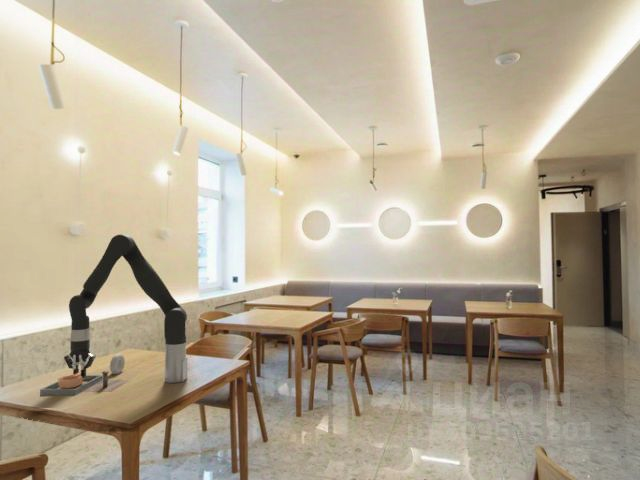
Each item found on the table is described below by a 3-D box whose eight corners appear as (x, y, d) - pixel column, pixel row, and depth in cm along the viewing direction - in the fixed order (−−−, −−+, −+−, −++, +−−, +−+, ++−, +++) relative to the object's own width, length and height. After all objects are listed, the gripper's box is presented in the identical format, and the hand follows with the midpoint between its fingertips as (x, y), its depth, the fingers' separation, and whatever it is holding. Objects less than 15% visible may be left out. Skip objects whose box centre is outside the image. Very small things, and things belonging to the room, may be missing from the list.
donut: (115, 377, 195) (115, 356, 195) (108, 377, 195) (108, 356, 195) (126, 371, 205) (126, 351, 205) (119, 371, 205) (119, 351, 205)
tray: (102, 381, 188) (102, 375, 188) (75, 396, 168) (76, 389, 168) (70, 381, 188) (70, 375, 188) (39, 396, 168) (40, 389, 168)
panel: (129, 382, 187) (130, 365, 188) (111, 393, 171) (111, 375, 172) (104, 382, 188) (104, 365, 188) (83, 393, 172) (83, 376, 172)
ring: (91, 378, 185) (91, 372, 185) (73, 387, 172) (73, 380, 172) (72, 378, 185) (72, 372, 185) (54, 387, 172) (54, 380, 172)
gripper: (100, 337, 187) (99, 375, 187) (70, 337, 188) (69, 375, 187) (90, 340, 180) (90, 380, 179) (59, 340, 180) (58, 380, 180)
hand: (79, 377), depth 183 cm, fingers closed on ring, 2 cm apart
